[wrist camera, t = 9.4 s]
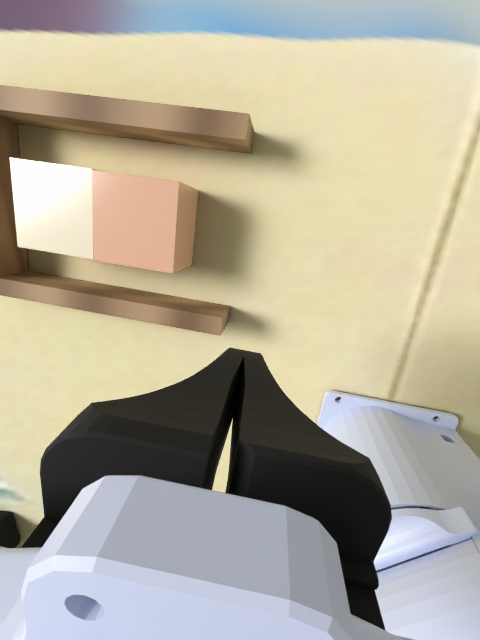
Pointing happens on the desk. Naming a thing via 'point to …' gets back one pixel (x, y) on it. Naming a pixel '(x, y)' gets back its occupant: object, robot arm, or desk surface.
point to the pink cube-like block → (143, 221)
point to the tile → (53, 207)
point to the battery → (8, 531)
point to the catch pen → (123, 121)
